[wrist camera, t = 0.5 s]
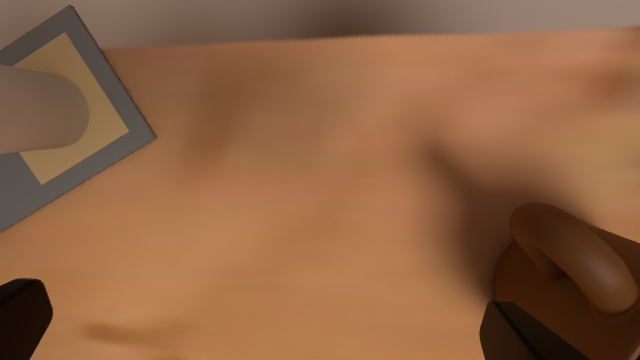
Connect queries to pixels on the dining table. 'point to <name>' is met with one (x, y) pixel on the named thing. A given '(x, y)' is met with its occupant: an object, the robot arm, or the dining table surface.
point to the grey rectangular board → (103, 127)
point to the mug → (574, 280)
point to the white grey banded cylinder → (39, 111)
